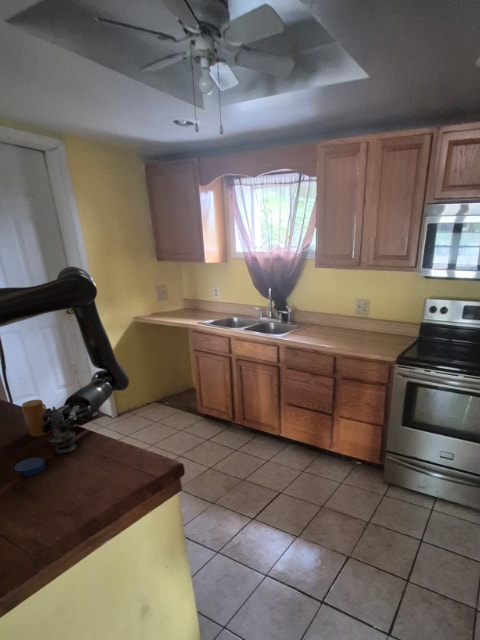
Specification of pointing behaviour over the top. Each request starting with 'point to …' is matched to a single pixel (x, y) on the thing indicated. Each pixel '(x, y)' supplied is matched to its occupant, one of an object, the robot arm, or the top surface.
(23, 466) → the lid
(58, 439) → the grey metal fitting
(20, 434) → the top surface
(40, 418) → the jar
